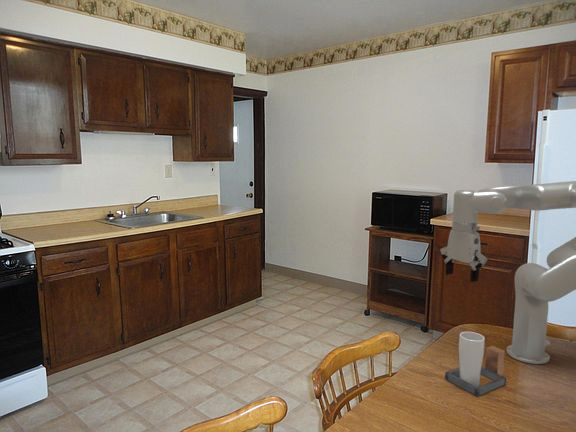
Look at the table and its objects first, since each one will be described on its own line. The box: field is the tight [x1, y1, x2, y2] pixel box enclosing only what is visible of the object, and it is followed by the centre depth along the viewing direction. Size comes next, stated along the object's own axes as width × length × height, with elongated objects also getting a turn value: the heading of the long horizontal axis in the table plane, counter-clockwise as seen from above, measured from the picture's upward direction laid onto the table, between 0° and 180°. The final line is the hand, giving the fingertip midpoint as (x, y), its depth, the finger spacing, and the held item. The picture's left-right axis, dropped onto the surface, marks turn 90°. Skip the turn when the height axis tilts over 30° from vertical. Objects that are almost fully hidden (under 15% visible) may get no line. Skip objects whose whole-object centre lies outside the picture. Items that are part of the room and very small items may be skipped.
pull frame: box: [444, 345, 507, 397], centre depth 123 cm, size 17×11×8 cm, turn 119°
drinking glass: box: [458, 331, 486, 387], centre depth 120 cm, size 7×7×15 cm
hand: (461, 277), depth 139 cm, fingers open, 9 cm apart
